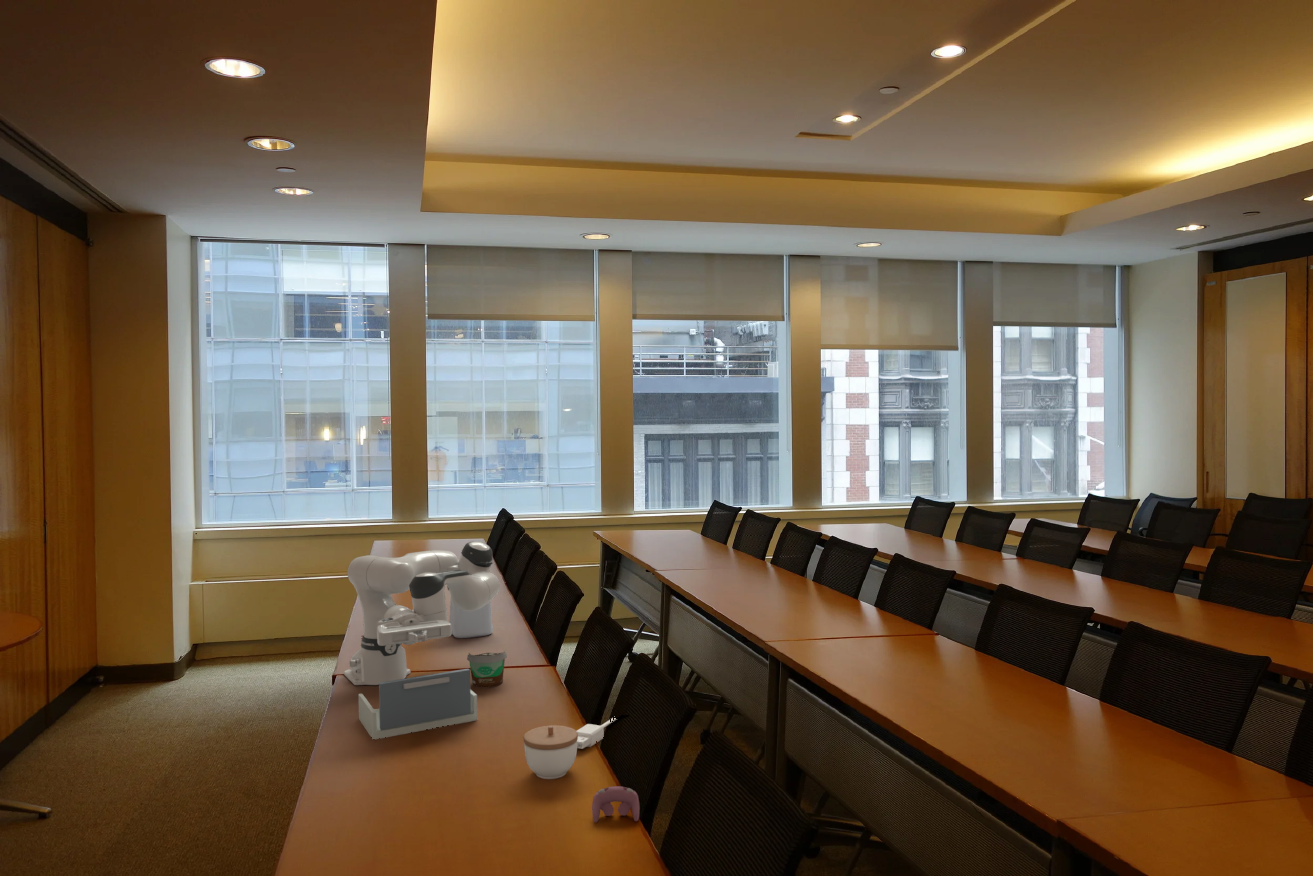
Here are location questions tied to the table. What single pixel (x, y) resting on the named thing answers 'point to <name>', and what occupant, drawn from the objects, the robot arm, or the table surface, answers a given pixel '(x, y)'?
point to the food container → (487, 669)
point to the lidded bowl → (550, 750)
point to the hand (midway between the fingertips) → (421, 638)
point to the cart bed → (372, 724)
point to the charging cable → (591, 734)
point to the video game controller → (612, 795)
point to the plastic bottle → (471, 621)
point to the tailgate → (424, 698)
